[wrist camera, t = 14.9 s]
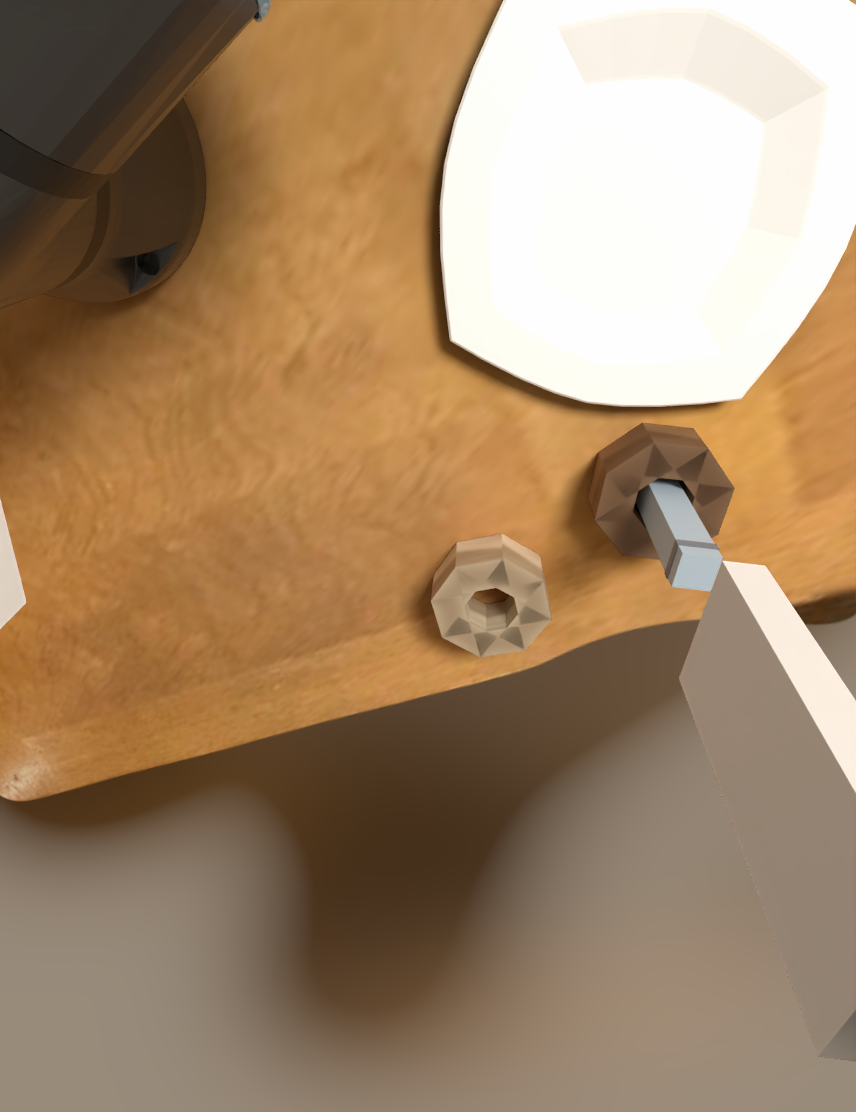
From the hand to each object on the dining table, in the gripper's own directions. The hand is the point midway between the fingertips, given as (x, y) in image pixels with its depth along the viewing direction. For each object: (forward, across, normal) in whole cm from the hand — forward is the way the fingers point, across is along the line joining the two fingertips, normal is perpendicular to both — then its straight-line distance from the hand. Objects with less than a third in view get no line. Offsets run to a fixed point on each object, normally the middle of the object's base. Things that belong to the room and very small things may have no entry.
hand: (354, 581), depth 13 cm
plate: (+35, +11, +5) cm, 37 cm away
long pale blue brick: (+35, +16, -12) cm, 40 cm away
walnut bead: (+35, +16, -12) cm, 40 cm away
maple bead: (+35, +6, -22) cm, 42 cm away
